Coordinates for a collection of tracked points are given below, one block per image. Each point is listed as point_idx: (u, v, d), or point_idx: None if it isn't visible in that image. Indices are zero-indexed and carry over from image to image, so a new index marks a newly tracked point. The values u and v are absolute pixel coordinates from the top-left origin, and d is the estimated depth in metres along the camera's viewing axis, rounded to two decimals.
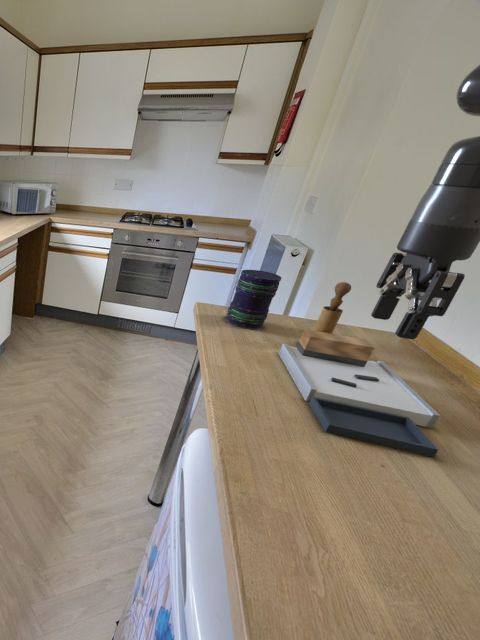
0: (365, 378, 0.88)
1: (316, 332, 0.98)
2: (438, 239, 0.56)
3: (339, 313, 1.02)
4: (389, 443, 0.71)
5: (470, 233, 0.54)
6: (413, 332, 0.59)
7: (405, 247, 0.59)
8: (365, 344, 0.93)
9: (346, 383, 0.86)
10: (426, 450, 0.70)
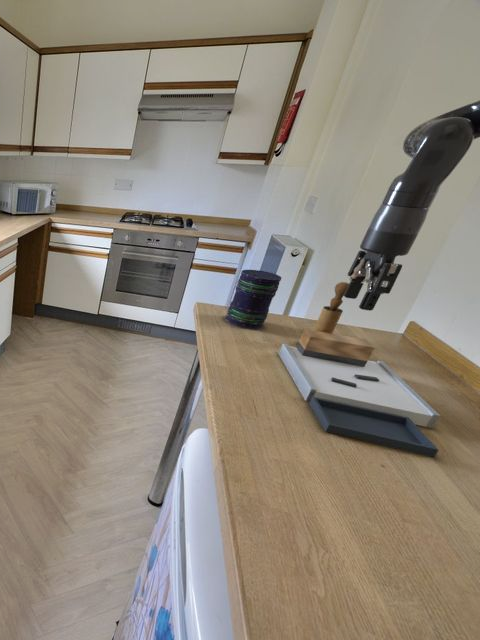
0: (365, 378, 0.88)
1: (316, 332, 0.98)
2: (386, 241, 0.82)
3: (339, 313, 1.02)
4: (389, 443, 0.71)
5: (406, 237, 0.81)
6: (371, 305, 0.85)
7: (365, 246, 0.85)
8: (365, 344, 0.93)
9: (346, 383, 0.86)
10: (426, 450, 0.70)
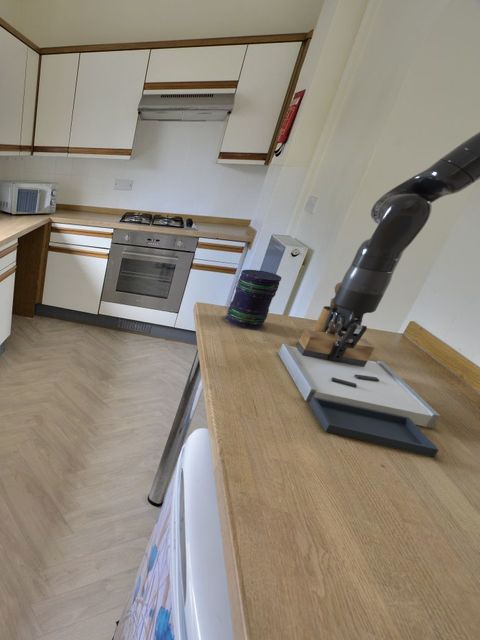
0: (365, 378, 0.88)
1: (316, 332, 0.98)
2: (354, 300, 0.89)
3: None
4: (389, 443, 0.71)
5: (373, 297, 0.87)
6: (338, 357, 0.94)
7: (336, 302, 0.92)
8: (365, 344, 0.93)
9: (346, 383, 0.86)
10: (426, 450, 0.70)
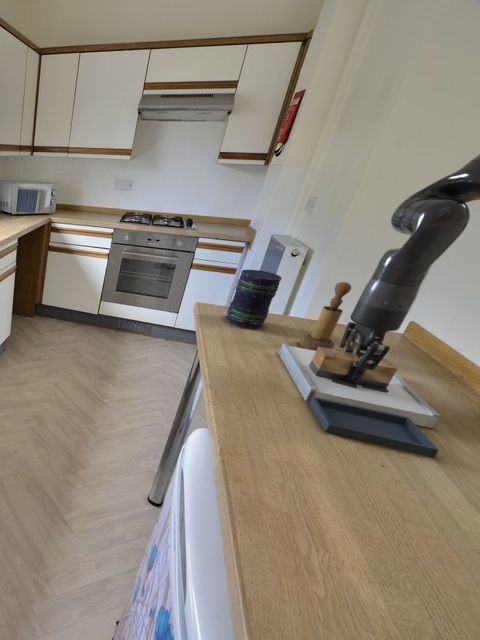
0: (372, 388, 0.84)
1: (331, 350, 0.89)
2: (375, 316, 0.80)
3: (339, 313, 1.02)
4: (389, 443, 0.71)
5: (396, 314, 0.78)
6: (356, 379, 0.85)
7: (355, 319, 0.83)
8: (386, 364, 0.84)
9: (346, 383, 0.85)
10: (426, 450, 0.70)
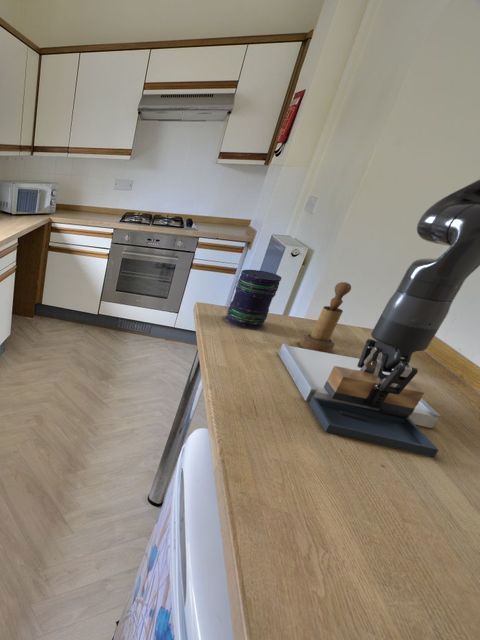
0: None
1: (349, 370, 0.80)
2: (401, 335, 0.71)
3: (339, 313, 1.02)
4: (389, 443, 0.71)
5: (425, 332, 0.70)
6: (377, 404, 0.76)
7: (377, 336, 0.75)
8: (412, 387, 0.75)
9: (356, 417, 0.78)
10: (426, 450, 0.70)
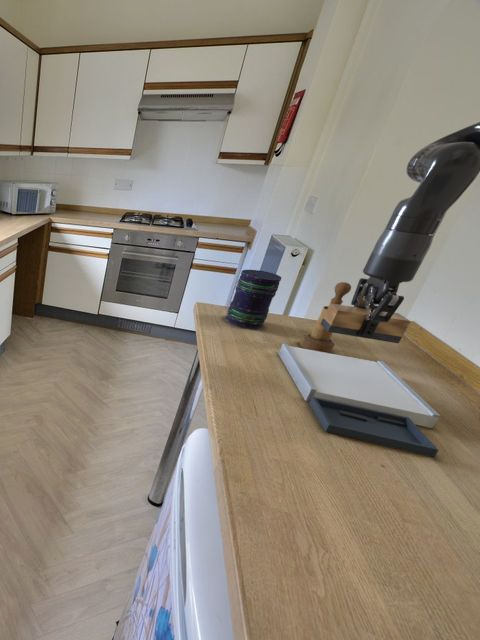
0: None
1: (343, 306, 0.88)
2: (389, 267, 0.79)
3: None
4: (389, 443, 0.71)
5: (411, 263, 0.78)
6: (369, 333, 0.84)
7: (368, 271, 0.83)
8: (399, 317, 0.83)
9: (356, 417, 0.78)
10: (426, 450, 0.70)
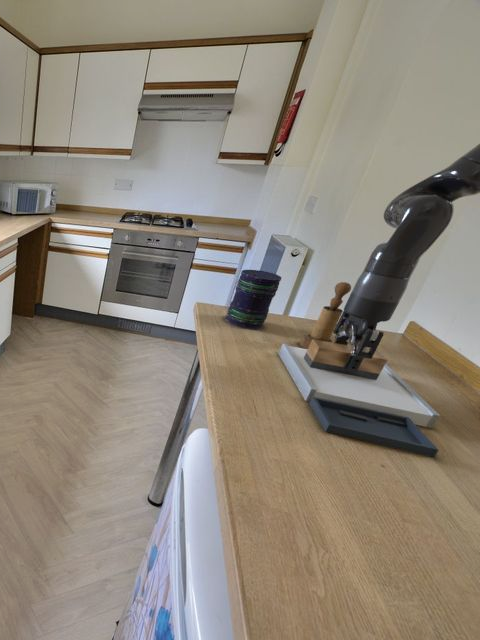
0: None
1: (325, 342, 0.93)
2: (368, 308, 0.83)
3: (339, 313, 1.02)
4: (389, 443, 0.71)
5: (387, 305, 0.82)
6: (354, 368, 0.87)
7: (348, 310, 0.87)
8: (377, 355, 0.88)
9: (356, 417, 0.78)
10: (426, 450, 0.70)
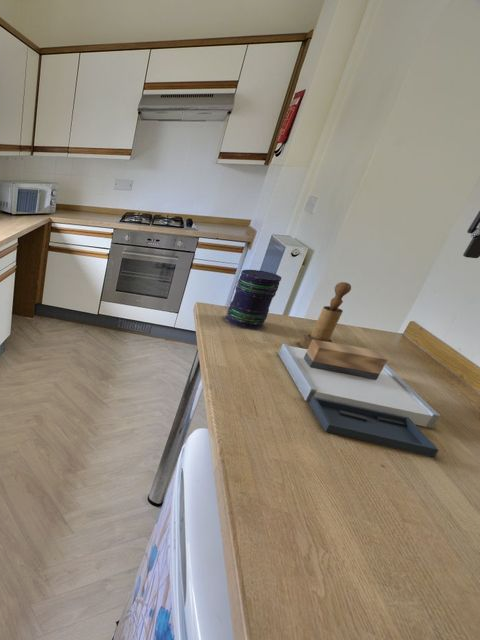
0: None
1: (325, 342, 0.93)
2: None
3: (339, 313, 1.02)
4: (389, 443, 0.71)
5: None
6: None
7: None
8: (377, 355, 0.88)
9: (356, 417, 0.78)
10: (426, 450, 0.70)
